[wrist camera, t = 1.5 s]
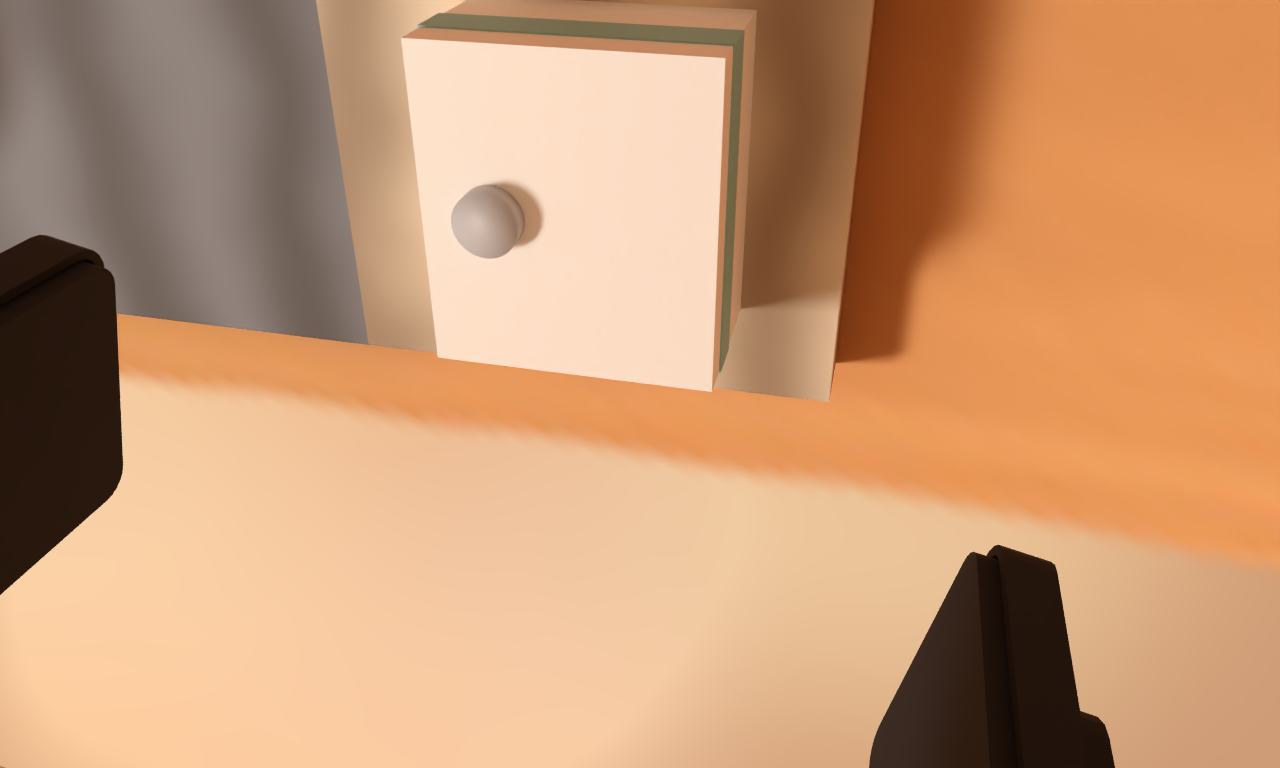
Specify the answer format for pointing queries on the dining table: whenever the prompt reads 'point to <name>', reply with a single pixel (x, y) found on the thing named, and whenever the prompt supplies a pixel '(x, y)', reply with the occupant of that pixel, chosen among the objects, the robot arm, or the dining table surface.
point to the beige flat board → (370, 166)
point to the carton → (584, 183)
